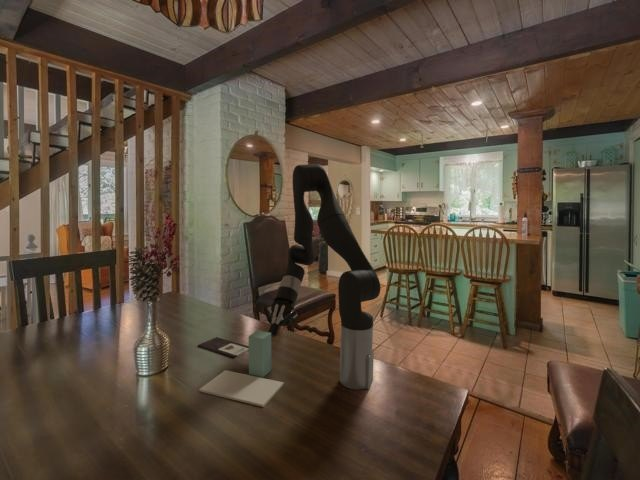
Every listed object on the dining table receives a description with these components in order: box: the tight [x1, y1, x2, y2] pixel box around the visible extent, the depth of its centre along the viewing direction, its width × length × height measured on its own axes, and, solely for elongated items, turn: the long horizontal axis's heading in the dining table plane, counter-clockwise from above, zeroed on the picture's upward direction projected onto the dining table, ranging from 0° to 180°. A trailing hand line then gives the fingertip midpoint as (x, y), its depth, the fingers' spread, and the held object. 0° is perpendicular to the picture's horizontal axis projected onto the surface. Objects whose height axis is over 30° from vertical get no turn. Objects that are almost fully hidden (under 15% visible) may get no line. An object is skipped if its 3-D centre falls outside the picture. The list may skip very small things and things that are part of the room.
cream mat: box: [198, 369, 285, 408], centre depth 92 cm, size 20×12×1 cm, turn 70°
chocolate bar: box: [197, 336, 249, 359], centre depth 119 cm, size 9×1×18 cm
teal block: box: [248, 330, 272, 378], centre depth 101 cm, size 5×5×12 cm
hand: (272, 336), depth 108 cm, fingers closed
